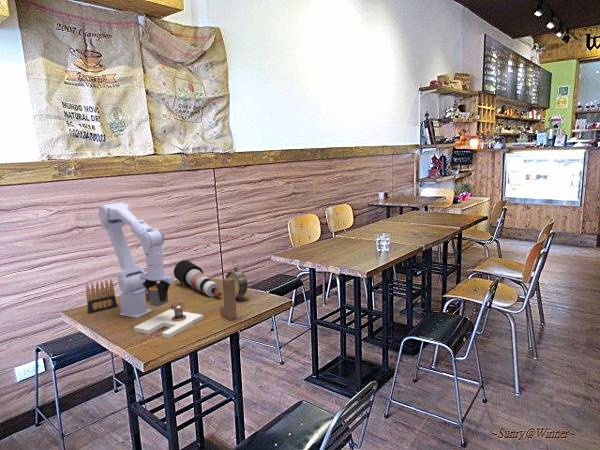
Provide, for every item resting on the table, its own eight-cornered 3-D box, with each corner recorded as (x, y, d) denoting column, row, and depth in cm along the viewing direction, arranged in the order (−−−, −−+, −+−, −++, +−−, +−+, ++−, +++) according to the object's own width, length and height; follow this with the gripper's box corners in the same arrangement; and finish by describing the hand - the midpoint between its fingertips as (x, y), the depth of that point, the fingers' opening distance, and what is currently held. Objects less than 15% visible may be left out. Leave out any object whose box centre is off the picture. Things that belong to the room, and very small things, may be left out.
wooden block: (237, 317, 160) (234, 278, 158) (229, 320, 158) (226, 280, 156) (228, 313, 165) (225, 275, 163) (220, 315, 163) (217, 277, 160)
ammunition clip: (115, 305, 178) (112, 277, 176) (117, 307, 177) (113, 278, 175) (87, 312, 172) (83, 283, 170) (88, 314, 170) (85, 284, 168)
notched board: (134, 331, 152) (133, 327, 152) (170, 312, 168) (169, 309, 168) (168, 338, 145) (168, 334, 145) (203, 318, 161) (202, 314, 161)
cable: (215, 310, 181) (204, 293, 176) (180, 284, 206) (169, 269, 201) (234, 295, 185) (224, 277, 180) (197, 271, 210) (187, 256, 205)
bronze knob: (169, 320, 157) (167, 307, 156) (178, 315, 161) (177, 302, 160) (179, 322, 155) (178, 308, 154) (189, 316, 159) (187, 304, 158)
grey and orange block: (150, 305, 157) (148, 287, 156) (160, 300, 161) (158, 283, 160) (158, 306, 155) (157, 289, 154) (168, 302, 160) (166, 285, 158)
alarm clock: (225, 297, 183) (222, 260, 180) (236, 294, 187) (233, 257, 184) (240, 303, 175) (237, 264, 172) (250, 299, 179) (248, 261, 176)
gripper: (178, 262, 156) (181, 298, 158) (147, 259, 162) (151, 294, 164) (164, 267, 150) (168, 305, 152) (133, 264, 156) (137, 300, 158)
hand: (158, 300), depth 158 cm, fingers closed on grey and orange block, 4 cm apart
